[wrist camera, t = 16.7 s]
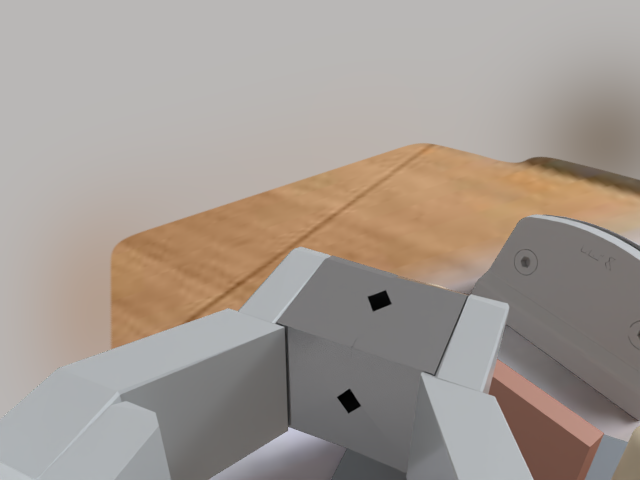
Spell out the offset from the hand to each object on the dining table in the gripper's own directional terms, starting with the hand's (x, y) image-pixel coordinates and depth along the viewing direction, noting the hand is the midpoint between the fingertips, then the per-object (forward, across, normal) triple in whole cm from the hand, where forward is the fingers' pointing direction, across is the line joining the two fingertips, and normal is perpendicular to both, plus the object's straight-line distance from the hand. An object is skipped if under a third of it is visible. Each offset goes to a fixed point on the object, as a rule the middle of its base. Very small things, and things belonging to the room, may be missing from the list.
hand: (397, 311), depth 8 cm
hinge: (+35, -6, +28) cm, 45 cm away
